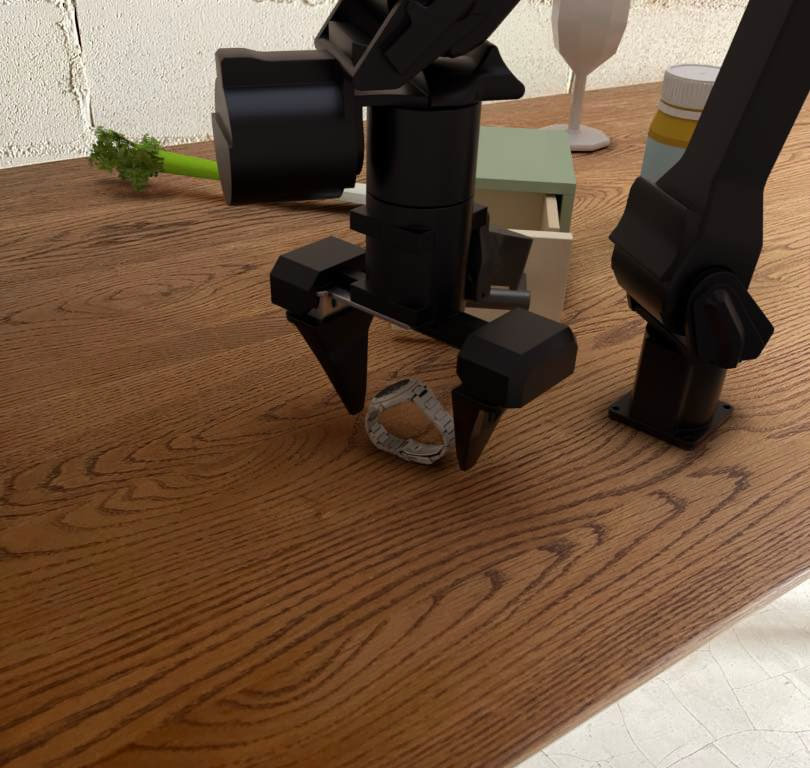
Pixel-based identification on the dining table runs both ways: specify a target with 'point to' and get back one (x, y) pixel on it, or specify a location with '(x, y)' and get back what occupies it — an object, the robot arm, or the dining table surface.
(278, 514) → the dining table surface
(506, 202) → the drawer
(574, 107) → the wineglass
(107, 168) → the leek
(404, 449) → the wristwatch
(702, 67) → the bottle
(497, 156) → the cabinet
